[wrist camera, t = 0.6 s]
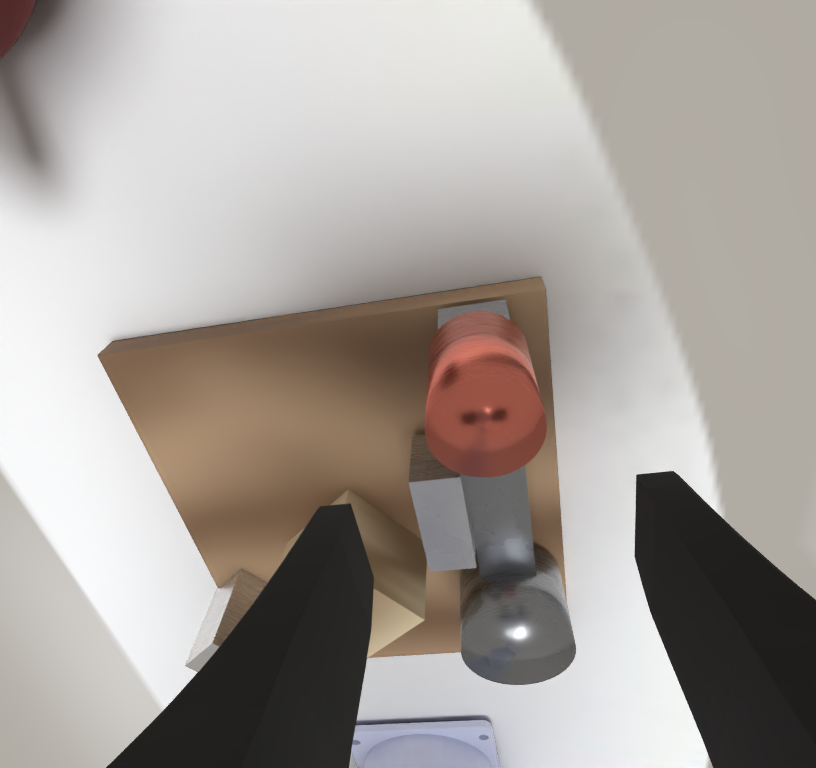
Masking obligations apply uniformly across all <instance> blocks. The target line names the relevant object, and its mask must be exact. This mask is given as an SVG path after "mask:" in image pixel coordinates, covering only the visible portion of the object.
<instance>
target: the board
mask: <svg viewBox="0 0 816 768" xmlns="http://www.w3.org/2000/svg"><path fill="white" fill-rule="evenodd" d="M504 299H506V303H507V307H508V312H509V316H510V320H511V321H512V322H513V323H514V324H515V325H516V326H517V327H518V328H519V329H520V330H521V332H522V333H523V335H524V337H525V340H526V343H527V346H528V350H529V354H530V358H531V362H532V366H533V369H534V373H535V377H536V381H537V385H538V389H539V393H540V397H541V401H542V404H543V408H544V412H545V416H546V422H547V432H546V437H545V440H544V443H543V445H542V447H541V449H540V450H539V452H538V453H537V455H536V456H535V457H534V458H533V459H532V460H531V461H530V462H528V463H527V464H526V465H525V468H526V478H527V488H528V497H529V507H530V517H531V527H532V536H533V546H534V547H536V548H539V549H541V550H543V551H544V552H546V553H547V554H549V555H550V556H551V557H552V558H553V559H554V560H555V561H556V563H557V565H558V567H559V569H560V574H561V578H562V583H563V588H564V593H565V598H566V585H565V570H564V555H563V540H562V525H561V510H560V495H559V480H558V465H557V450H556V435H555V420H554V405H553V390H552V375H551V360H550V345H549V330H548V315H547V300H546V289H545V286H544V283H543V281H542V278H541V277H537V278H531V279H524V280H518V281H511V282H504V283H498V284H491V285H484V286H478V287H471V288H464V289H458V290H451V291H444V292H438V293H431V294H424V295H418V296H411V297H404V298H398V299H391V300H384V301H378V302H371V303H365V304H358V305H351V306H345V307H338V308H331V309H325V310H318V311H311V312H305V313H298V314H291V315H285V316H278V317H271V318H265V319H258V320H251V321H245V322H238V323H232V324H225V325H218V326H212V327H205V328H198V329H192V330H185V331H178V332H172V333H165V334H158V335H152V336H145V337H138V338H132V339H125V340H118V341H112V342H111V343H110V344H109V345H108V346H107V347H106V348H105V349H104V350H102V351H101V352H100V353H99V354H98V355H97V356H98V357H99V359H100V361H101V363H102V365H103V367H104V369H105V371H106V373H107V375H108V377H109V379H110V381H111V382H112V384H113V386H114V388H115V390H116V392H117V394H118V396H119V398H120V400H121V402H122V404H123V406H124V408H125V409H126V411H127V413H128V415H129V417H130V419H131V421H132V423H133V425H134V427H135V429H136V431H137V433H138V435H139V436H140V438H141V440H142V442H143V444H144V446H145V448H146V450H147V452H148V454H149V456H150V458H151V460H152V461H153V463H154V465H155V467H156V469H157V471H158V473H159V475H160V477H161V479H162V481H163V483H164V485H165V487H166V488H167V490H168V492H169V494H170V496H171V498H172V500H173V502H174V504H175V506H176V508H177V510H178V512H179V514H180V515H181V517H182V519H183V521H184V523H185V525H186V527H187V529H188V531H189V533H190V535H191V537H192V539H193V541H194V542H195V544H196V546H197V548H198V550H199V552H200V554H201V556H202V558H203V560H204V562H205V564H206V566H207V567H208V569H209V571H210V573H211V575H212V577H213V579H214V581H215V583H216V585H217V587H218V588H219V587H220V586H221V585H223V584H224V583H225V582H226V581H227V580H228V579H229V578H230V577H231V576H233V575H234V574H235V573H236V572H237V571H238V570H239V569H240V568H243V569H245V570H246V571H248V572H250V573H251V574H253V575H255V576H257V577H258V578H260V579H262V580H263V581H265V582H267V583H268V581H269V580H270V579H271V577H272V576H273V574H274V573H275V572H276V570H277V569H278V567H279V566H280V563H281V560H282V557H283V554H284V551H285V547H286V544H287V542H289V541H290V540H291V539H292V538H293V537H294V536H295V535H297V534H298V533H299V532H300V531H301V530H302V529H303V528H305V527H306V525H307V524H308V522H309V521H310V519H311V518H312V516H313V515H314V513H315V512H316V510H317V509H318V508H319V507H320V506H329V505H331V504H332V503H333V502H334V501H335V500H336V499H338V498H339V497H340V496H341V495H342V494H343V493H344V492H346V491H347V490H348V489H349V490H351V491H352V492H353V493H355V494H356V495H358V496H359V497H361V498H362V499H364V500H365V501H367V502H368V503H370V504H371V505H373V506H374V507H375V508H377V509H378V510H380V511H381V512H383V513H384V514H386V515H387V516H389V517H390V518H392V519H393V520H394V521H396V522H397V523H399V524H400V525H402V526H403V527H405V528H406V529H408V530H409V531H411V532H412V533H414V534H415V535H416V536H418V537H419V538H421V533H420V529H419V525H418V521H417V517H416V512H415V508H414V504H413V500H412V496H411V491H410V487H409V483H408V482H409V470H410V458H411V446H412V436H416V435H424V434H425V413H426V395H427V377H428V358H429V348H430V344H431V341H432V339H433V337H434V335H435V334H436V332H437V331H438V309H442V308H449V307H456V306H463V305H470V304H477V303H483V302H490V301H497V300H504ZM421 539H422V538H421ZM475 549H476V547H475ZM460 571H461V569H458V570H446V571H434V572H430V571H429V567H428V563H427V570H426V597H425V620H424V621H423V622H421V623H420V624H418V625H417V626H415V627H414V628H412V629H410V630H409V631H407V632H406V633H404V634H403V635H401V636H400V637H398V638H397V639H395V640H394V641H392V642H391V643H389V644H388V645H386V646H385V647H383V648H382V649H380V650H379V651H377V652H376V653H374V654H373V655H371V656H370V657H368V658H372V657H388V656H405V655H421V654H438V653H454V652H461V626H460V584H459V576H460ZM566 602H567V601H566Z"/></svg>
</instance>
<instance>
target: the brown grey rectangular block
mask: <svg viewBox="0 0 816 768" xmlns="http://www.w3.org/2000/svg"><path fill="white" fill-rule="evenodd" d="M266 584H267V582H265V581H263V580H262V579H260V578H258V577H257V576H255V575H253V574H251V573H250V572H248V571H246V570H245V569H243V568H240V569H239V570H238V571H237V572H236V573H235V574H234V575H233V576H231V577H230V578H229V579H228V580H227V581H226V582H225V583H224V584H223V585H221V586H220V587H219V588H218V589H217V590H216V592H215V595H214V597H213V599H212V602H211V604H210V607H209V609H208V612H207V614H206V616H205V619H204V621H203V624H202V626H201V629H200V631H199V633H198V636H197V638H196V641H195V643H194V646H193V648H192V650H191V653H190V655H189V658H188V660H187V663H186V665H185V666H187V667H189V668H191V669H193V670H195V671H196V672H199V670H200V669H201V668H202V667H203V666H204V665H205V663H206V662H207V661H208V660H209V659H210V657H211V656H212V655H213V654H214V653H215V651H216V650H217V649H218V648H219V647H220V645H221V644H222V643H223V641H224V640H225V639H226V638H227V636H228V635H229V634H230V632H231V631H232V630H233V629H234V627H235V626H236V625H237V623H238V622H239V621H240V620H241V618H242V617H243V616H244V614H245V613H246V612H247V611H248V609H249V608H250V607H251V605H252V604H253V602H254V601H255V600H256V598H257V597H258V596H259V594H260V593H261V591H262V590H263V588H264V587H265V586H266Z"/></svg>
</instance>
